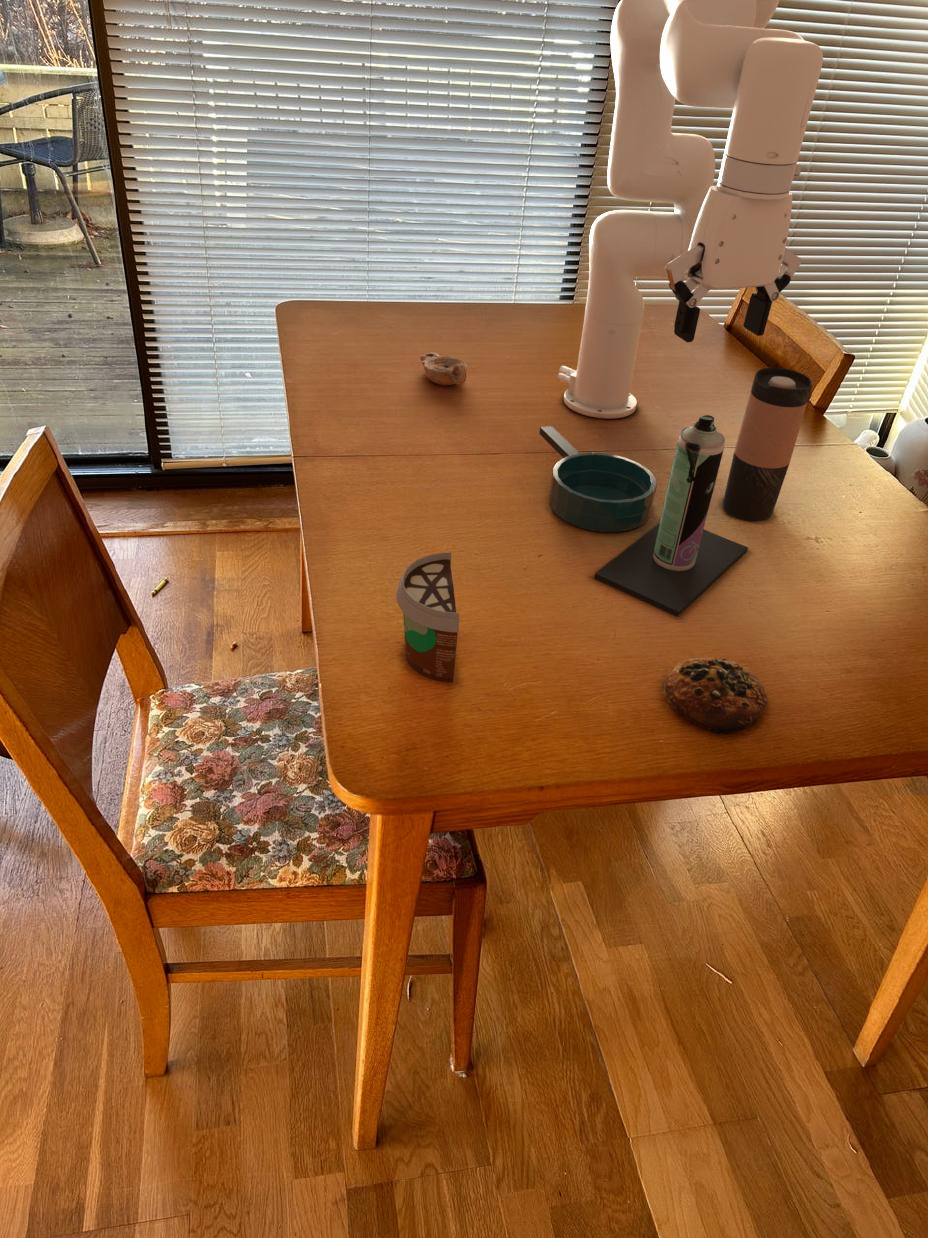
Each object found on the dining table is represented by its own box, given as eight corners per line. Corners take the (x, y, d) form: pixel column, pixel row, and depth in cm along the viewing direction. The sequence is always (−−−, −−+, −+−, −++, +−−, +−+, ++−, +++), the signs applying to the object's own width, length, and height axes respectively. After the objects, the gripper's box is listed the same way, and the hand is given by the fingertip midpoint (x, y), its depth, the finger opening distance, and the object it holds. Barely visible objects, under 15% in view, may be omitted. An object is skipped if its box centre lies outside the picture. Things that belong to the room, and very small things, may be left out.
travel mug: (775, 503, 137) (814, 373, 125) (771, 527, 131) (812, 394, 119) (723, 491, 139) (757, 362, 127) (717, 515, 133) (752, 383, 121)
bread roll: (700, 745, 95) (709, 704, 92) (640, 689, 103) (646, 650, 101) (786, 723, 99) (797, 683, 96) (721, 671, 107) (729, 633, 105)
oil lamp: (410, 369, 169) (411, 342, 166) (447, 364, 172) (448, 338, 169) (442, 398, 160) (443, 370, 157) (480, 392, 163) (482, 365, 160)
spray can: (694, 574, 119) (731, 430, 107) (651, 567, 120) (683, 423, 108) (695, 551, 123) (730, 411, 111) (653, 545, 124) (684, 404, 112)
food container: (393, 621, 108) (395, 549, 102) (446, 621, 109) (451, 549, 103) (396, 692, 99) (398, 616, 93) (454, 691, 99) (459, 616, 93)
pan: (529, 507, 131) (533, 476, 128) (583, 473, 141) (588, 443, 138) (616, 546, 125) (623, 513, 122) (667, 507, 134) (674, 476, 131)
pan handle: (585, 467, 137) (586, 459, 136) (573, 468, 136) (574, 461, 135) (550, 432, 145) (551, 425, 144) (539, 433, 144) (539, 426, 144)
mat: (593, 578, 118) (594, 573, 118) (668, 520, 131) (669, 515, 131) (677, 617, 113) (679, 611, 112) (747, 552, 126) (748, 547, 125)
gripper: (800, 166, 104) (760, 318, 114) (667, 169, 98) (638, 328, 108) (844, 183, 98) (798, 340, 109) (706, 186, 93) (672, 353, 103)
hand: (718, 334), depth 109 cm, fingers open, 9 cm apart
